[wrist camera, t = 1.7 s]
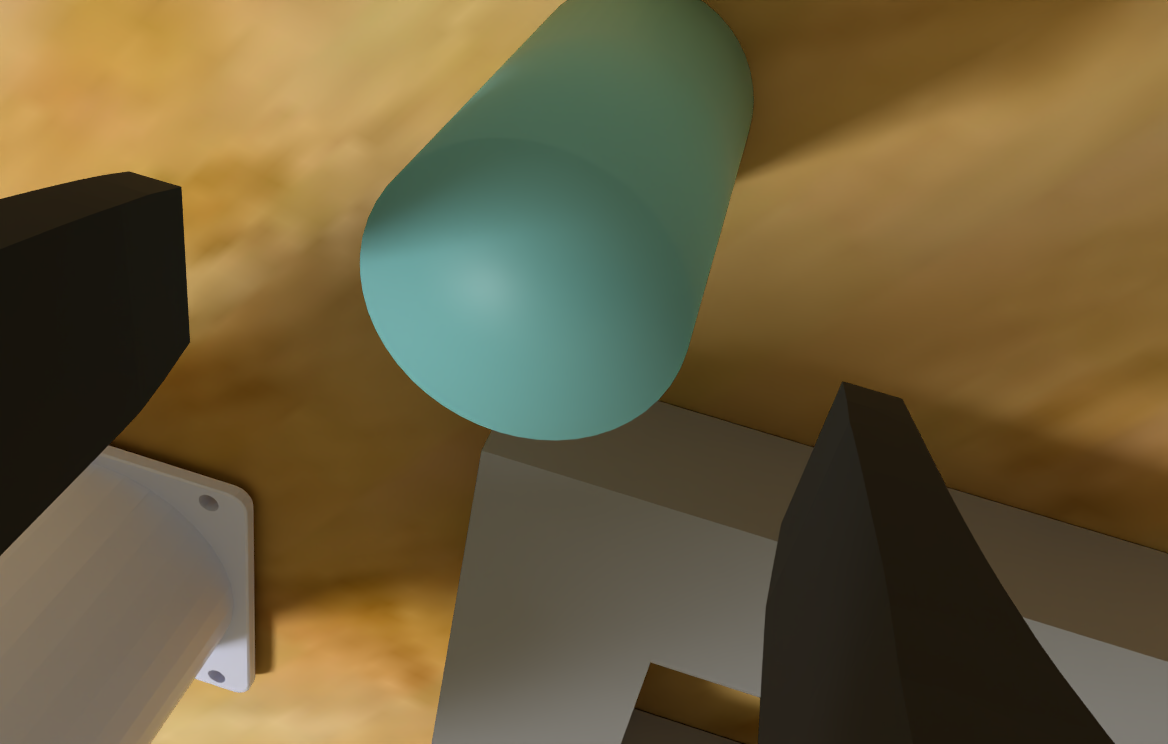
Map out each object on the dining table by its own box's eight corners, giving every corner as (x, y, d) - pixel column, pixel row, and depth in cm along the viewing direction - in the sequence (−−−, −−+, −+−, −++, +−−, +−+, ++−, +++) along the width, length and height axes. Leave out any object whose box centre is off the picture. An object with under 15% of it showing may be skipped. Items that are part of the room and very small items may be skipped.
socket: (453, 745, 29) (415, 841, 27) (526, 361, 21) (481, 450, 19) (930, 904, 28) (934, 1019, 26) (1206, 565, 20) (1251, 687, 18)
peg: (508, 173, 19) (351, 387, 13) (543, -49, 16) (370, 94, 11) (717, 233, 18) (648, 478, 13) (785, 14, 16) (734, 197, 10)
